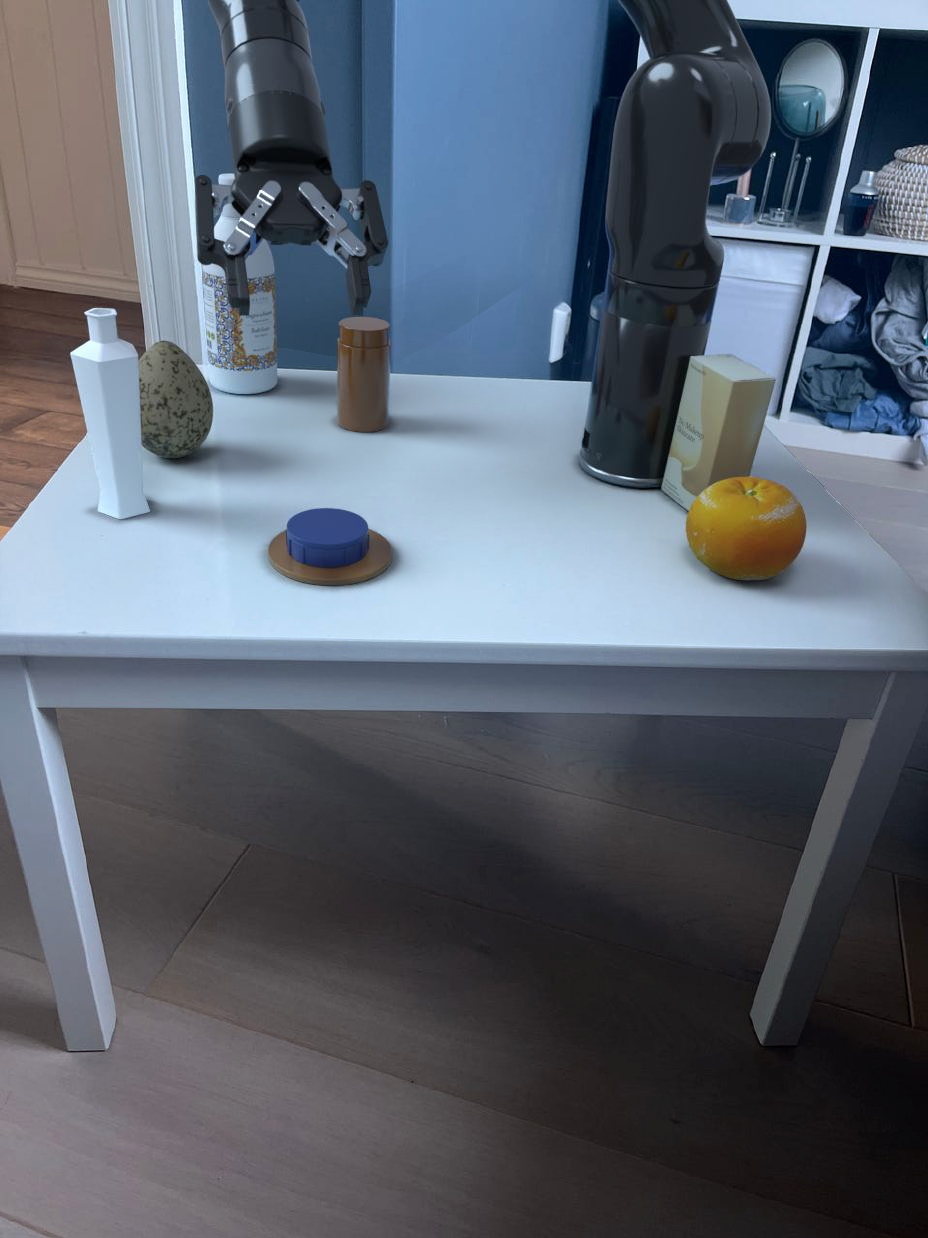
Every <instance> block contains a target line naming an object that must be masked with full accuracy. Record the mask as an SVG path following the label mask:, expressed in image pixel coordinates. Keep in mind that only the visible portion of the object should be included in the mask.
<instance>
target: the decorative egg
mask: <svg viewBox="0 0 928 1238" xmlns="http://www.w3.org/2000/svg"><path fill="white" fill-rule="evenodd" d="M138 364H139V391H140V417H141V444H142V447H143V448H144V449H145V450H147V451H148V452H150V453H151V454H153V455H156V456H158V457H161V458H165V459H178V458H184V457H186V456H189V455H190V454H193V453H194V452H195V451H197V450H198V449H199V448H200V447H201V446H202V445H203V444H204V442H205V441H206V440H207V438H208V436H209V434H210V432H211V429H212V425H213V420H214V402H213V397H212V393H211V390H210V386H209V384H208V382H207V380H206V378H205V376H204V375H203V373H202V371H201V370H200V368H199V367H198V365H197V364H196V363H195V361H194V360H193V359H192V358H191V357H190V356H189V355H188V354H187V353H186V352H185V351H184V350H183V349H182V348H181V347H179V345H177V344H176V343H175V342H172V341H169V340H159V341H157V342H155V343H154V344H152V345H151V346H149V347H148V349H147V350H146V351H145V352H144V353H143V354H142V356H140V359H139V358H138Z"/></svg>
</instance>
